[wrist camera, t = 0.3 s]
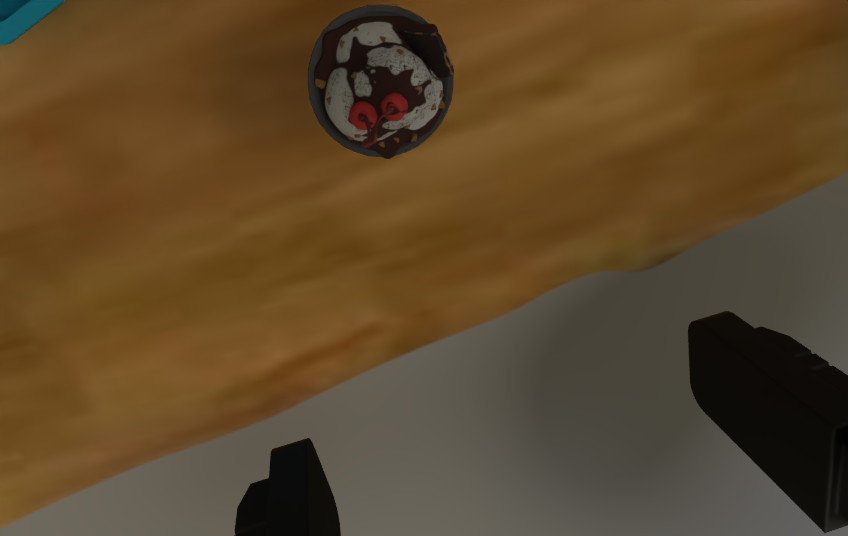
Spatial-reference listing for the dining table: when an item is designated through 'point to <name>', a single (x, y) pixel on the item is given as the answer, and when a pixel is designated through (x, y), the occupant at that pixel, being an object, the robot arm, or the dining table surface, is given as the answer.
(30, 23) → the ice cube tray
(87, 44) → the dining table surface
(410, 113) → the sundae
